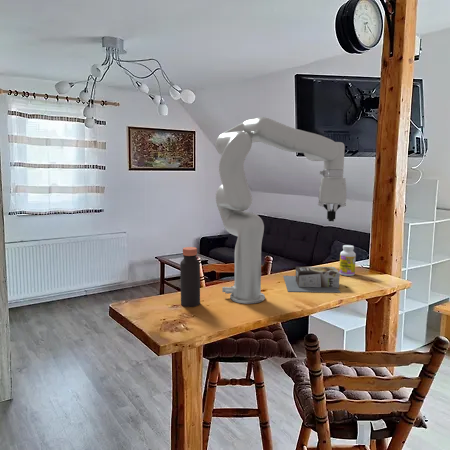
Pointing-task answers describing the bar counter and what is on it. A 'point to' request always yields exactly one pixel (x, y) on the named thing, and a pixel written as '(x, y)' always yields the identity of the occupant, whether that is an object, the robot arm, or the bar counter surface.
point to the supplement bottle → (347, 261)
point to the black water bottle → (190, 278)
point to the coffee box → (317, 277)
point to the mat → (293, 287)
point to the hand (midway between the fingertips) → (331, 220)
